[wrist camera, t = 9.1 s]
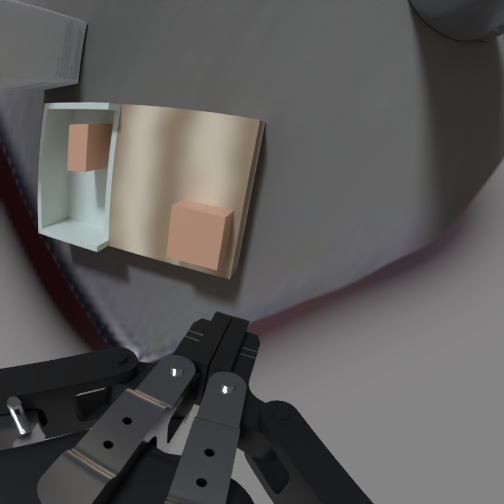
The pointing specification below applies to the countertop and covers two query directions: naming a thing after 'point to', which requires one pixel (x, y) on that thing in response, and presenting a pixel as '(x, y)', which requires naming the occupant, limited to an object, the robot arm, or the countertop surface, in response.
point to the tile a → (89, 146)
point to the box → (74, 178)
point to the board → (180, 176)
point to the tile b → (199, 233)
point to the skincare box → (38, 47)
